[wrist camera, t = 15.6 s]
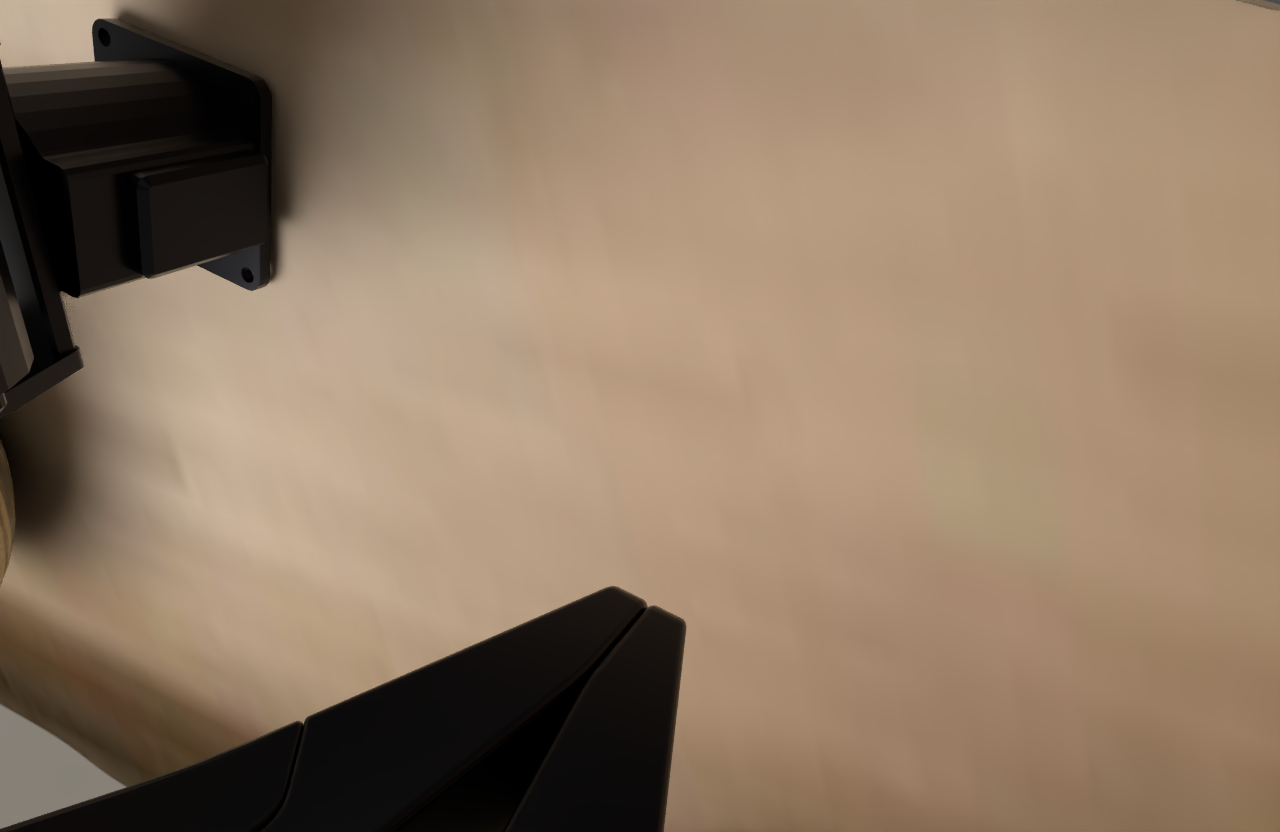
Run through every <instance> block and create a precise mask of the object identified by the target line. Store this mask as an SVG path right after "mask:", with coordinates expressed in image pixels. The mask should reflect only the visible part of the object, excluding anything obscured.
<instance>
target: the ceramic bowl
mask: <svg viewBox="0 0 1280 832" xmlns="http://www.w3.org/2000/svg"><path fill="white" fill-rule="evenodd" d="M15 521H16V520H15V501H14V492H13V483H12V478H11V473H10V469H9V464H8V460H7V456H6V452H5V449H4V447H3V444H2V442H1V440H0V586H1V583H2V581H3V578H4V575H5V572H6V570H7V567H8V564H9V559H10V555H11V551H12V546H13V542H14V536H15Z"/></svg>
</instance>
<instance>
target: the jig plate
mask: <svg viewBox="0 0 1280 832" xmlns="http://www.w3.org/2000/svg"><path fill="white" fill-rule="evenodd" d="M1238 1H1242V2H1245V3H1249V4H1253V5H1256V6H1260V7H1264V8H1267V9H1271V10H1280V0H1238Z"/></svg>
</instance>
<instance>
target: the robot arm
mask: <svg viewBox="0 0 1280 832" xmlns="http://www.w3.org/2000/svg"><path fill="white" fill-rule="evenodd" d="M92 36H93V47H94V58H95V62H83V63H68V64H53V65H38V66H23V67H8V68H2V65H1V61H0V419H1V418H3V417H4V416H6V415H8V414H9V413H11V412H12V411H14V410H16V409H17V408H19V407H20V406H22V405H24V404H25V403H27V402H28V401H30V400H32V399H33V398H35V397H36V396H38V395H40V394H41V393H43V392H44V391H46V390H48V389H49V388H51V387H52V386H54V385H56V384H57V383H59V382H60V381H62V380H64V379H65V378H67V377H68V376H70V375H72V374H73V373H75V372H76V371H78V370H80V369H81V368H83V367H84V364H83V360H82V356H81V353H80V349H79V347H78V346H75V344H74V341H73V337H72V333H71V329H70V325H69V321H68V318H67V314H66V310H65V306H64V302H63V298H62V296H66V295H70V296H72V297H75V298H79V297H82V296H85V295H89V294H92V293H95V292H99V291H102V290H105V289H109V288H112V287H115V286H119V285H122V284H125V283H129V282H132V281H135V280H139V279H142V278H145V277H146V278H148V279H149V278H156V277H159V276H162V275H166V274H169V273H172V272H176V271H179V270H182V269H185V268H189V267H192V266H195V265H197V266H200V267H202V268H204V269H206V270H208V271H210V272H212V273H214V274H216V275H218V276H220V277H222V278H224V279H226V280H229V281H231V282H233V283H235V284H237V285H239V286H241V287H243V288H245V289H247V290H251V291H253V290H256V289H259V288H262V287H265V286H266V285H267V284H268V283H269V278H270V207H271V130H272V97H271V92H270V89H269V87H268V85H267V84H266V82H265V81H264V80H263V79H262V78H260V77H259V76H256V75H254V74H251V73H249V72H246V71H244V70H241V69H239V68H236V67H234V66H231V65H229V64H226V63H224V62H221V61H219V60H216V59H214V58H211V57H209V56H206V55H204V54H201V53H199V52H196V51H194V50H191V49H189V48H186V47H184V46H181V45H179V44H176V43H174V42H171V41H169V40H166V39H164V38H161V37H159V36H156V35H154V34H151V33H149V32H146V31H144V30H141V29H139V28H136V27H134V26H131V25H129V24H126V23H124V22H121V21H119V20H116V19H97V20H96V21H95V22H94V24H93V26H92ZM0 45H1V43H0ZM251 91H252V92H253V95H254V99H253V97H252V93H251ZM252 273H253V274H252ZM685 635H686V623H685V621H684V620H683V619H682V618H680V617H678V616H676V615H674V614H672V613H670V612H668V611H666V610H664V609H662V608H660V607H657V606H649V607H647V604H646V602H645V601H644V600H643V599H641V598H639V597H637V596H635V595H633V594H631V593H629V592H627V591H625V590H623V589H621V588H619V587H616V586H611V587H607V588H604V589H602V590H599V591H597V592H595V593H592V594H590V595H588V596H586V597H583V598H581V599H579V600H576V601H574V602H572V603H569V604H567V605H565V606H562V607H560V608H558V609H555V610H553V611H551V612H549V613H546V614H544V615H542V616H539V617H537V618H535V619H532V620H530V621H528V622H525V623H523V624H521V625H518V626H516V627H514V628H512V629H509V630H507V631H505V632H502V633H500V634H498V635H495V636H493V637H491V638H488V639H486V640H484V641H481V642H479V643H477V644H474V645H472V646H470V647H468V648H465V649H463V650H461V651H458V652H456V653H454V654H451V655H449V656H447V657H444V658H442V659H440V660H437V661H435V662H433V663H431V664H428V665H426V666H424V667H421V668H419V669H417V670H414V671H412V672H410V673H407V674H405V675H403V676H400V677H398V678H396V679H394V680H391V681H389V682H387V683H384V684H382V685H380V686H377V687H375V688H373V689H370V690H368V691H366V692H363V693H361V694H359V695H357V696H354V697H352V698H350V699H347V700H345V701H343V702H340V703H338V704H336V705H333V706H331V707H329V708H326V709H324V710H322V711H319V712H317V713H315V714H313V715H310V716H308V717H307V718H306V719H305V722H304V726H303V723H302V722H301V721H296V722H293V723H291V724H289V725H286V726H284V727H282V728H279V729H277V730H275V731H272V732H270V733H268V734H265V735H263V736H261V737H258V738H256V739H254V740H251V741H249V742H246V743H244V744H241V745H239V746H236V747H234V748H231V749H229V750H226V751H224V752H221V753H219V754H216V755H214V756H211V757H209V758H206V759H204V760H202V761H199V762H197V763H194V764H191V765H188V766H186V767H183V768H180V769H177V770H174V771H171V772H169V773H166V774H163V775H160V776H157V777H154V778H152V779H149V780H146V781H143V782H140V783H137V784H135V785H132V786H129V787H126V788H123V789H120V790H117V791H114V792H111V793H108V794H105V795H102V796H99V797H96V798H93V799H90V800H87V801H84V802H81V803H78V804H75V805H72V806H69V807H66V808H63V809H60V810H56V811H53V812H51V813H47V814H44V815H41V816H38V817H35V818H33V819H29V820H26V821H23V822H20V823H17V824H14V825H11V826H8V827H5V828H2V829H0V832H664V823H665V814H666V805H667V796H668V787H669V778H670V769H671V760H672V752H673V743H674V734H675V725H676V716H677V707H678V698H679V689H680V680H681V671H682V662H683V653H684V644H685Z"/></svg>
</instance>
